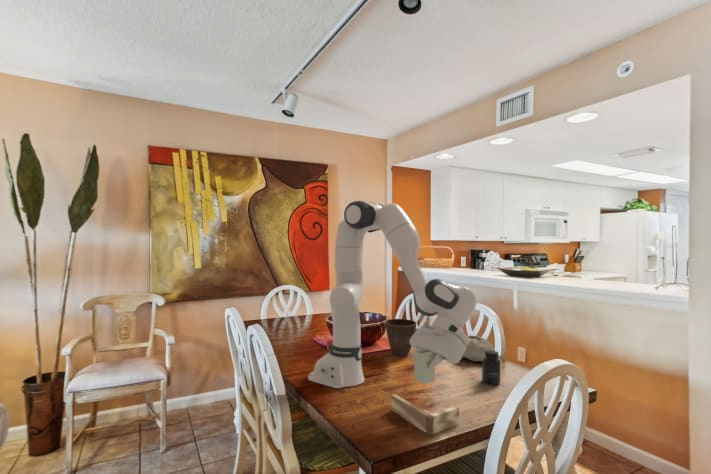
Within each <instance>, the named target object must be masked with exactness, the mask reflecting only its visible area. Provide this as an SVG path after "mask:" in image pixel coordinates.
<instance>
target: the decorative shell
mask: <svg viewBox="0 0 711 474" xmlns="http://www.w3.org/2000/svg"><path fill="white" fill-rule="evenodd" d="M466 336H467V338H468V339H469V341H470V343H469V344H468V345H467V346H466V350H465V353H464V355H463V356H462V358H465V359H467V360H469V361H473V362H482V360H483V358H484V357H486V356H485V351H487V350H493V351H495V349H494V346H493V345H492V342H491V341H488V340H487V339H486V338H483V337H481V336H477V335H471V334H470V335H466Z"/></svg>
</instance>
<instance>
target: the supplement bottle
mask: <svg viewBox="0 0 711 474" xmlns="http://www.w3.org/2000/svg"><path fill="white" fill-rule="evenodd" d="M485 356H486V357H484V358H483V360H482V361H481V362H482V363H481V366H482V369H481V381H482V382H483V384H486V385H488V386H489V385H490V386H498V385H500V384H501V375H502V374H501V370H502V369H501V365H502V364H501V363H502V362H501V360H500V359H499V352H498V351H497V350H494V351H493V350H487V351H485Z"/></svg>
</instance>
